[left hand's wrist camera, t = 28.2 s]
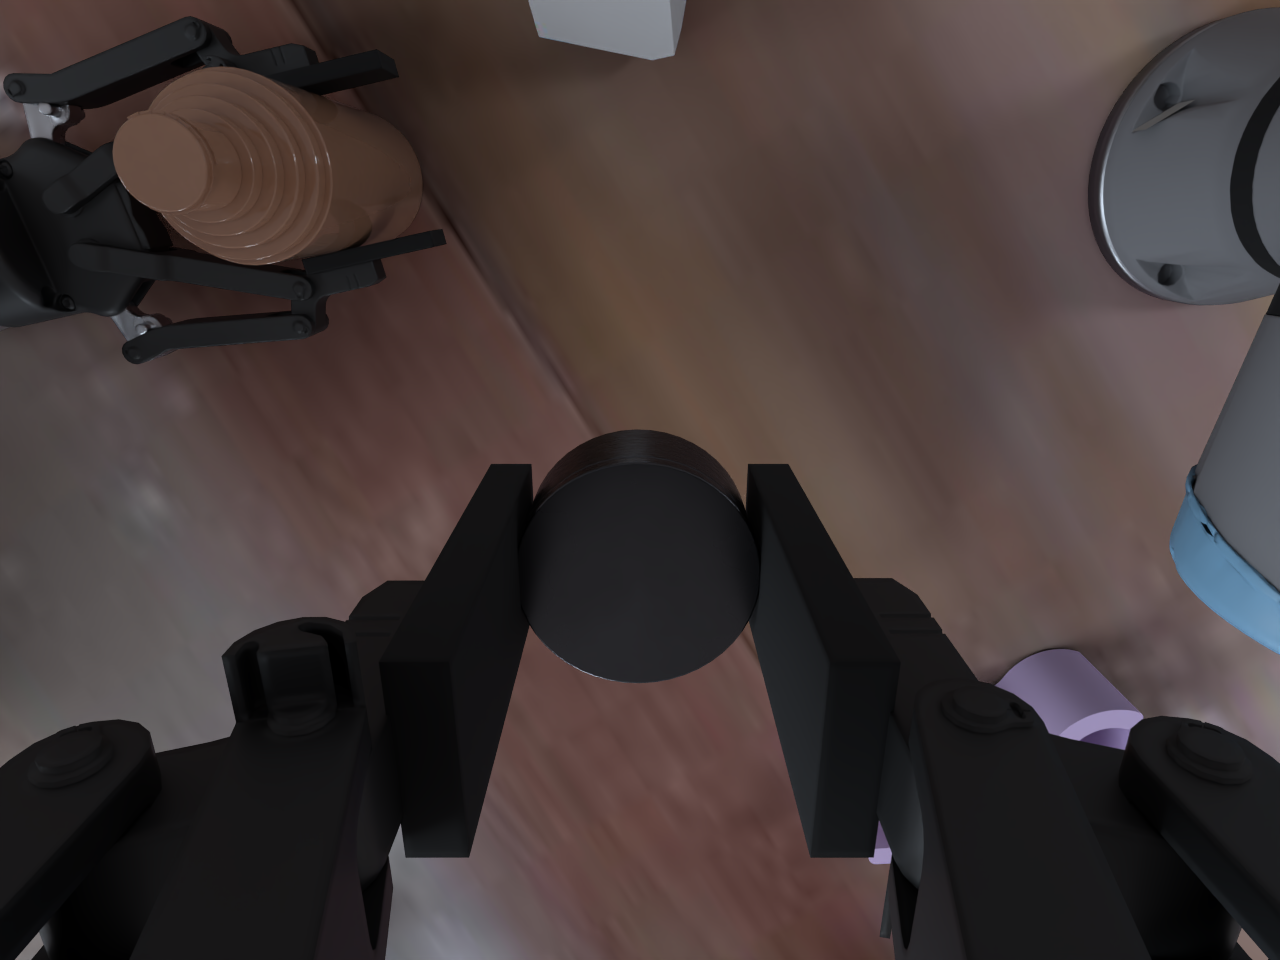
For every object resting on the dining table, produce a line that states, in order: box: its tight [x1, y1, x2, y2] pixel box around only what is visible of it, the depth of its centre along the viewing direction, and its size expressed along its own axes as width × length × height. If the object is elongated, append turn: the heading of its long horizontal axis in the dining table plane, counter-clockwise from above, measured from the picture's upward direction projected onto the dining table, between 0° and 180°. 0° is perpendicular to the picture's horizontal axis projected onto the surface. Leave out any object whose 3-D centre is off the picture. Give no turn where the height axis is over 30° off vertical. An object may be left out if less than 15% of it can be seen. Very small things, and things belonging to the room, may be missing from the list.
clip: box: [869, 649, 1143, 864], centre depth 54 cm, size 20×12×7 cm, turn 131°
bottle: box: [113, 66, 423, 265], centre depth 34 cm, size 7×7×20 cm
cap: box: [518, 430, 761, 683], centre depth 14 cm, size 4×4×2 cm
